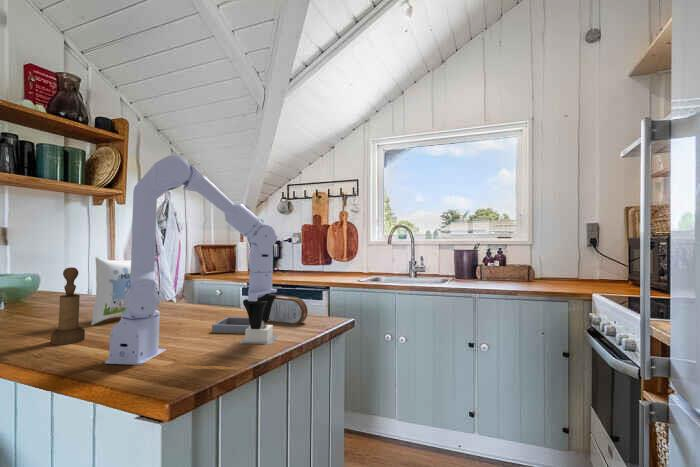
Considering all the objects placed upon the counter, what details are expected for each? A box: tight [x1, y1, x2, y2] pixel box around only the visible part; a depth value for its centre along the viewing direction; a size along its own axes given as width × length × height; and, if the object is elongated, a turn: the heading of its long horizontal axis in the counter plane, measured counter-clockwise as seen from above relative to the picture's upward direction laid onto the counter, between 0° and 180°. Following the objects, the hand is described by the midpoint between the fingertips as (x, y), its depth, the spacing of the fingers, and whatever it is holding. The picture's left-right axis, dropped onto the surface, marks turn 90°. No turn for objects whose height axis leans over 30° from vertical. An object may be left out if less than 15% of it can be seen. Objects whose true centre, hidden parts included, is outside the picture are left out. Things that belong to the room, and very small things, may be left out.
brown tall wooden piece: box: [50, 267, 86, 346], centre depth 89 cm, size 7×6×18 cm
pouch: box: [91, 256, 131, 326], centre depth 114 cm, size 8×19×20 cm, turn 157°
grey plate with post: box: [238, 321, 279, 345], centre depth 92 cm, size 8×8×5 cm
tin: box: [268, 294, 309, 325], centre depth 114 cm, size 15×3×8 cm, turn 66°
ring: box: [244, 324, 274, 342], centre depth 92 cm, size 6×6×3 cm
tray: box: [211, 316, 250, 335], centre depth 103 cm, size 11×11×3 cm
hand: (259, 325), depth 93 cm, fingers open, 7 cm apart
